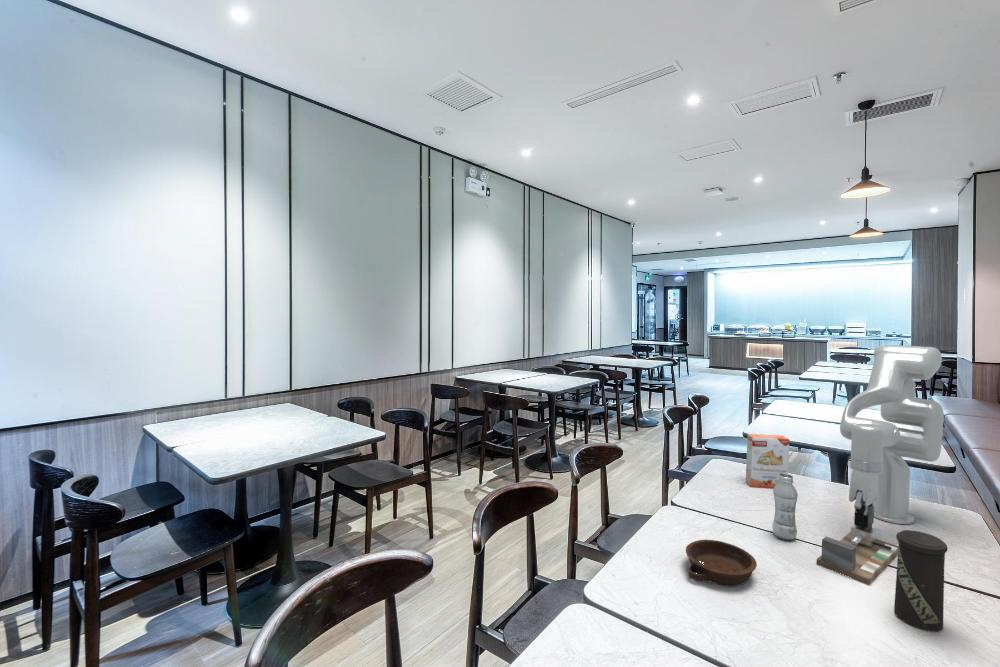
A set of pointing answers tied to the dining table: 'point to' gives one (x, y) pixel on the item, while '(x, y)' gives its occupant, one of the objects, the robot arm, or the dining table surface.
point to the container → (920, 580)
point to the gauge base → (856, 558)
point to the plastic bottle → (785, 508)
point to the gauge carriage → (866, 532)
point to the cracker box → (766, 459)
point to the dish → (719, 562)
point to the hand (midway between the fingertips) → (863, 523)
